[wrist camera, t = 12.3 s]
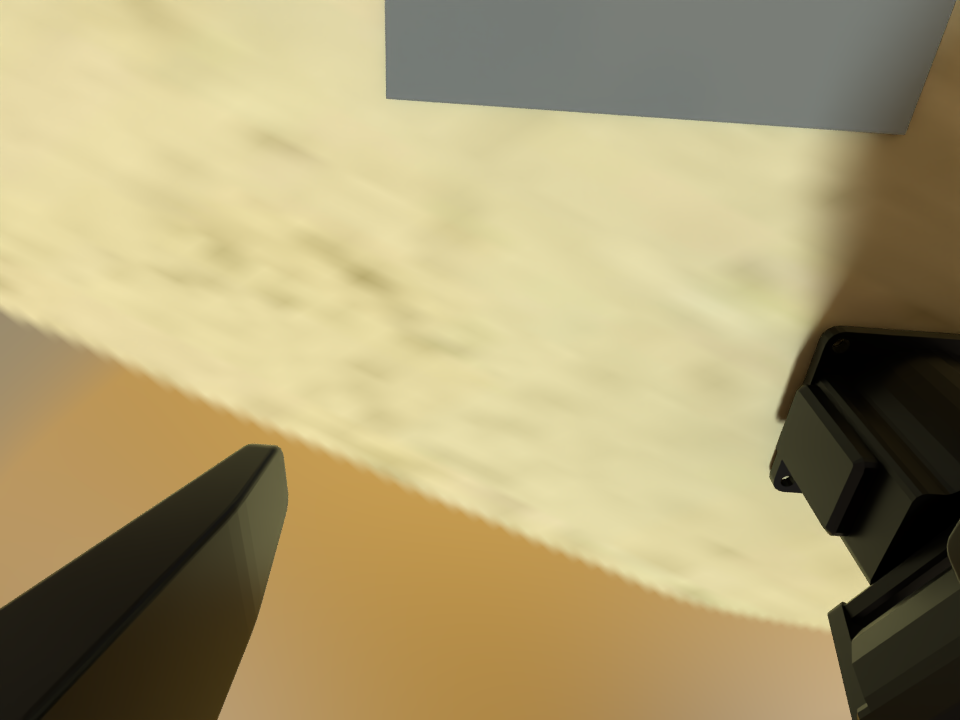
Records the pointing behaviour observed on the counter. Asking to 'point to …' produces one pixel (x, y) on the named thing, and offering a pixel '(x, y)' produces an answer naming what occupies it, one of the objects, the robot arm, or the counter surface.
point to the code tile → (672, 58)
